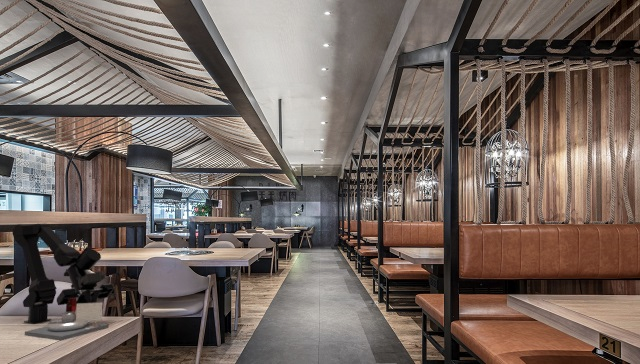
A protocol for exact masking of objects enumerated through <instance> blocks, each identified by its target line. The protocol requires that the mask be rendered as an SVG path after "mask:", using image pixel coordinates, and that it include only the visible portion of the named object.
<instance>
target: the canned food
mask: <svg viewBox="0 0 640 364" xmlns="http://www.w3.org/2000/svg"><path fill="white" fill-rule="evenodd" d="M76 301H77V300H76V298H72V299H68V303H67V304H65V305H66V306H65V312H75V318H76V308H77V304H75V302H76Z"/></svg>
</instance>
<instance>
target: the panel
mask: <svg viewBox="0 0 640 364" xmlns="http://www.w3.org/2000/svg"><path fill="white" fill-rule="evenodd" d="M109 326H110V325H109V323H102V322H96V321H88V325H87V326H86V327H83V328H79V329H75V330H68V331H50V330H48V325H47V326H44V327H38V328H34V329H31V330H26V331H24V336H27V337H36V338H42V339H43V338H44V339H50V340H57V341H64V340H68V339H71V338H76V337H79V336H82V335H86V334H90V333H93V332H97V331H101V330H105V329H108V327H109Z"/></svg>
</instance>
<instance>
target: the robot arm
mask: <svg viewBox="0 0 640 364" xmlns="http://www.w3.org/2000/svg"><path fill="white" fill-rule="evenodd" d="M12 236H13V238H14V241H15V242H16V244H18V245H19V246H20V247H21V248H22V252H23V255H24V259H25V262H26V266H27V269H28V273H29V278H30V284H29V287H28V290H27V291H28V295H26V297H25V298H24V299H23V300H22V306H23V307H24V308H28V314H27V315H28V317H27V320H24V321H23V323H25V324H26V323H27V324H33V325H35V324H39V323H40V324H41V323H43V322H50V321H51V320H52V319H51V318H48V317H49V316H48V315H49V314H48V313H49V307H48V305H50V304H51V305H53V303H54V301H55V298H56V294H57V286H56V283H55V279H52V278H51V279H49V278H48V277H47V274H46V272H45V268H44V262H43V260H42V257H41V253H40V248H39V246H38V242H39V240H40V239H41V240H42V242H43V243H44V244H45V245H46V246H47V247H48V248H49V250H51V251H52V253H53V259H54V261H55V262H56V264H57V265H58V267H68V268H66V269H65V271H64V273H63V277H69V279H70V282H71V285H70V288H66V289H65V288H64V289H62V291H61V292H60V293H59V294H58V296H57V298H56V303H57V305H58V306H64V305H66V304H67V303H68V299H72V298H76V300H77V301H76V302H75V304H77V303H95V302H97V300H98V299H99V300H103V299H106V298H109V296H111V294H113V291H114V290H115V286H114V284H113V283H105V284H104V283H103V284H101V285H100V286H99V288H96V287H98V283H99V282H102V281H103V280H105V279H106V275H105V272H104V271H103V270H101V271H97V272H92V273H91V272H90V273H88V272H87V271H89V270H92V268H93V267H94V266H95V265H96V264H97V263H98V262H99V261H100V260H101V258H102V255H101V253H100V252H98V251H97V250H95V249H93V248H92V247H91V246H86V247H85V248H84V249H83V250H82V251H81V253H80V251H79V250H77V249H76V248H75V247H72V246H70V245H68V244H67V243H65V242H64V241H63V240H62V239H61V237H60V236H58V234H57V233H56V232H55V231H54V230H53V229H52V228H51V225H50V224H49V223H36V224H35V223H34V224H30V223H29V224H21V223H20V224H16V225H15V227H13V229H12Z"/></svg>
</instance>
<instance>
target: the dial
mask: <svg viewBox="0 0 640 364" xmlns="http://www.w3.org/2000/svg"><path fill="white" fill-rule="evenodd" d="M61 314H62V315H61V319H56V320H52V321H48V323H47V326H48V330H50V331H68V330H75V329H79V328H83V327H86V326H87V325H88V322H94V321H101V320H102V318H103V301H101V302H100V301H99V302H95V303H77V308H76V318H75V312H66V311H64V312H62V313H61Z"/></svg>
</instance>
